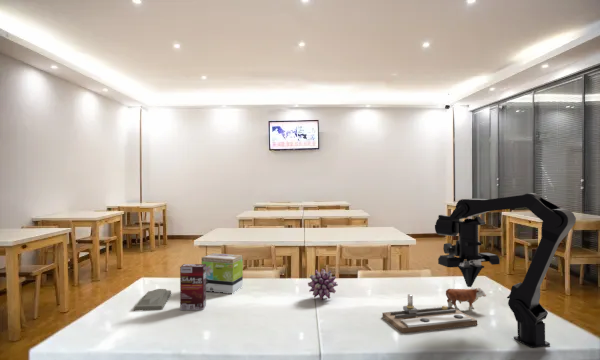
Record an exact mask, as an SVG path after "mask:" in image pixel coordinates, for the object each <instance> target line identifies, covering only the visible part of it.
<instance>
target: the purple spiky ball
mask: <svg viewBox="0 0 600 360" xmlns="http://www.w3.org/2000/svg"><path fill="white" fill-rule="evenodd" d="M314 273H315V275H314V274H310V275H309V276H308V277H309V279H310V280H311V281H309V282H307V285H308V287H310V289H309V293H310V292H313V293H312V296H313V297H314V298H316V297H318V296H319V299H320V300H324V297H327V298H328V299H331V293H333V294H335V293H336V292H337V290H336V289H335V288H334V287H337V286H338V285H339V284H338V283H337V281H335V279H337V276H335V275H334V276H333V273H332V270H329V271H328V272H327V271H326V270H325V269H324V268H321V271H318V269H316V270H315V272H314Z"/></svg>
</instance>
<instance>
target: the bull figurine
mask: <svg viewBox="0 0 600 360" xmlns="http://www.w3.org/2000/svg"><path fill="white" fill-rule="evenodd" d="M445 296H446V298H447V300H446V302H447V307H448V306H451V307H453V308H455V309H457V310H459V311H460V308H459V307H458V306H457V303H456V302H459V304H462V303H464V302H465V303H466V302H467V303H468V310H469V311H473V310H474V309H475V307H474V306H473V304H474V303H475V302H477V300H479V298H481V297H483V298H484V297H487V294H486V293H485V290H484V289H483V288H482V287H481V286H479V287H468V288H463V289H462V288H448V289H446V291H445Z"/></svg>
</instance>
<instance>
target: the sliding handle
mask: <svg viewBox="0 0 600 360" xmlns="http://www.w3.org/2000/svg"><path fill="white" fill-rule="evenodd" d="M413 299H414V298H413V294H407V305H403V306H402V309H403V310H402V311H406V312H407V313H409V314H411V313H417V309H418V308H416V307H415V305H413V303H414V300H413Z"/></svg>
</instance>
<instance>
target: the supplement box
mask: <svg viewBox="0 0 600 360" xmlns="http://www.w3.org/2000/svg"><path fill="white" fill-rule="evenodd" d="M179 268H180V269H179V273H180V275H179V281H180V282H179V283H180V284H179V285H180V286H179V287H180V288H179V289H180V290H179V293H180V294H179V295H180V297H179V299H180V300H179V301H180V306H179V309H180V311H203V310H205V308H206V307H207V291H206V264H202V263H199V264H198V263H195V264H194V263H187V264H185V263H184V264H182V265H181V266H180V267H179Z"/></svg>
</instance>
